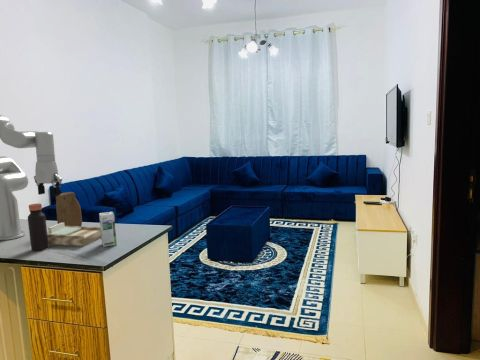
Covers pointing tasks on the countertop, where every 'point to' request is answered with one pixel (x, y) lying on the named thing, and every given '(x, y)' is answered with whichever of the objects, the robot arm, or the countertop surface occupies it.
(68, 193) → the block
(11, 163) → the robot arm
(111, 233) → the syrup box
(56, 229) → the lid
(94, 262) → the countertop surface
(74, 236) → the puzzle board
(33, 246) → the vinegar
